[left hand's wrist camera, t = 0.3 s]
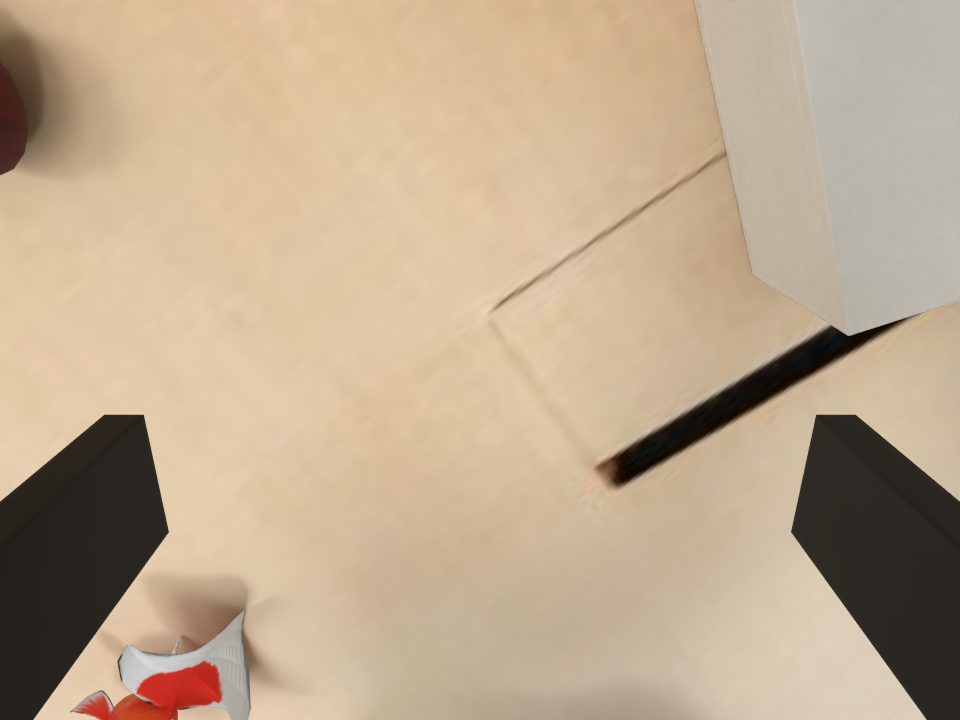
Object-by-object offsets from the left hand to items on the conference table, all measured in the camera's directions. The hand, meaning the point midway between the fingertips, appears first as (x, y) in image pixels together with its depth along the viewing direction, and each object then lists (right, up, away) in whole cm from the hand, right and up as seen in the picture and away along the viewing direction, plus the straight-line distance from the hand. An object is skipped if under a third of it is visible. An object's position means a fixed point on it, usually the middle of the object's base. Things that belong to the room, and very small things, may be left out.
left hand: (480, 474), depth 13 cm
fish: (-23, -20, +38) cm, 49 cm away
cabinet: (+19, +17, +23) cm, 34 cm away
